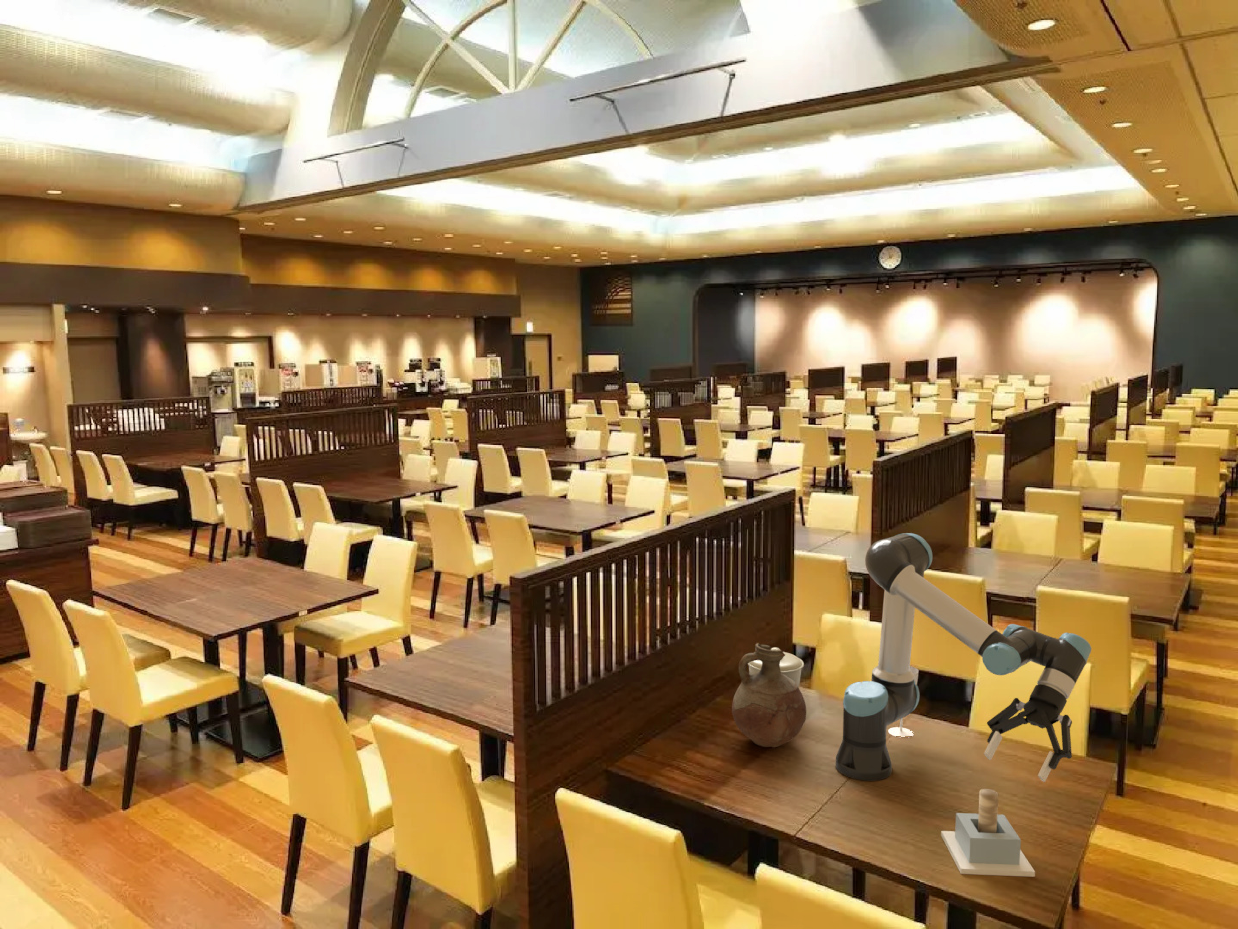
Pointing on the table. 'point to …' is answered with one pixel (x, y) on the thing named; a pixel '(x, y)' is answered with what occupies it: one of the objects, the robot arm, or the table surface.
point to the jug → (768, 700)
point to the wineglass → (899, 730)
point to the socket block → (986, 848)
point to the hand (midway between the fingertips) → (1013, 767)
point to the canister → (782, 666)
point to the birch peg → (987, 811)
